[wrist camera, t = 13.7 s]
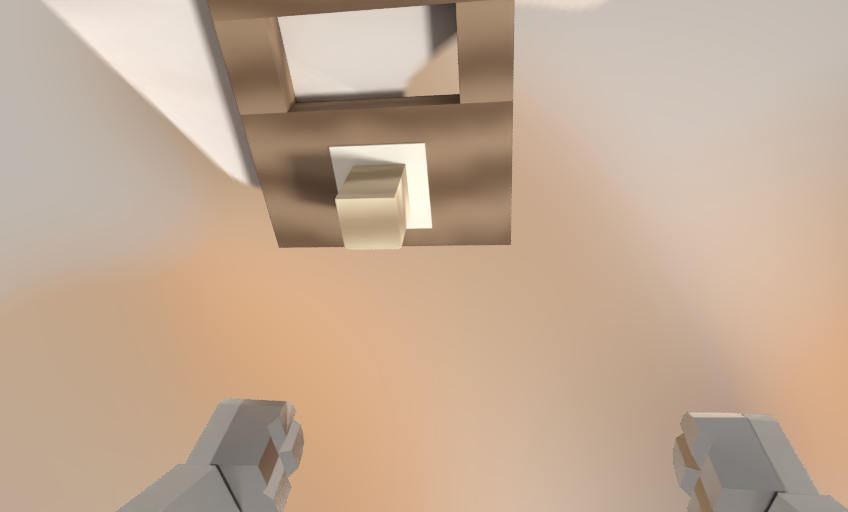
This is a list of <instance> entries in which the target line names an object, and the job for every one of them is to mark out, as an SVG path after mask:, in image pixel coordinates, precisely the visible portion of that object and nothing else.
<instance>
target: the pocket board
mask: <svg viewBox="0 0 848 512" xmlns="http://www.w3.org/2000/svg"><path fill="white" fill-rule="evenodd" d="M207 3H208V7H209V10H210V13H211V17H212V20H213V24H214V27H215V31H216V34H217V37H218V41H219V44H220V48H221V51H222V54H223V58H224V61H225V65H226V68H227V72H228V75H229V78H230V82H231V85H232V89H233V92H234V95H235V99H236V102H237V106H238V109H239V113H240V116H241V119H242V123H243V126H244V130H245V133H246V136H247V140H248V143H249V147H250V150H251V154H252V157H253V160H254V164H255V167H256V171H257V174H258V177H259V181H260V184H261V188H262V191H263V194H264V198H265V201H266V205H267V208H268V212H269V215H270V218H271V222H272V225H273V229H274V232H275V236H276V239H277V242H278V246H279V248H289V247H345V246H344V241H343V236H342V231H341V226H340V221H339V216H338V211H337V207H336V202H335V198H336V196H337V195H338V193H339V191H340V189H341V187H342V185H343V183H344V182H345V180H346V178H347V176H348V174H349V172H350V170H351V168H352V167H353V166H364V165H395V164H406V174H407V183H408V192H409V201H410V210H411V212H410V216H409V220H408V224H407V227H406V231H405V235H404V239H403V243H402V246H450V245H510V244H511V194H512V188H511V187H512V129H513V64H514V62H513V60H514V0H207ZM448 3H456V18H457V41H458V64H459V87H460V94H454V95H434V96H416V97H397V98H378V99H359V100H341V101H322V102H303V103H296V98H295V94H294V89H293V85H292V81H291V76H290V72H289V67H288V63H287V58H286V54H285V50H284V45H283V41H282V36H281V32H280V27H279V23H278V19H277V17H281V16H294V15H307V14H320V13H332V12H345V11H358V10H371V9H384V8H397V7H409V6H422V5H435V4H448Z"/></svg>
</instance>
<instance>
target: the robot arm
mask: <svg viewBox="0 0 848 512" xmlns="http://www.w3.org/2000/svg"><path fill="white" fill-rule="evenodd" d="M295 413H296V411H295V408H294V405H293V403H292V402H284V401H267V400H250V399H226V398H225V399H224V400H223V401H221V402H220V403H219V404H218V406H217V408H216V410H215V411H214V413H213V415H212V416H211V418H210V420H209V422H208V424H207V426H206V427H205V429H204V431H203V433H202V434H201V437H200V438H199V440H198V442H197V443H196V445H195V447H194V449H193V451H192V452H191V454H190V456H189V458H188V460H187V461H186V463H185V464H178V465H176V466H175V467H174V468H173V469H171V470H170V471H169V472H167V473H166V474H165V475H163V476H162V477H161V478H159V479H158V480H157V481H156V482H154V483H153V484H152V485H150V486H149V487H148V488H147V489H145V490H144V491H143V492H141V493H140V494H139V495H137V496H136V497H135V498H133V499H132V500H131V501H130V502H128V503H127V504H126V505H124V506H123V507H122V508H120V509H119V510H118V511H116V512H283V510H284V507H285V505H286V501H287V499H288V496H289V493H290V490H291V484H290V482H289V479H288V477H289V476H290V475H291V474H292V473H293V472H294V471H295V470H297V469H298V467H299V464H300V461H301V457H302V453H303V445H304V438H303V431H302V428H301V425H300V424H299V423H298V422H296V421H295V420H294V416H295ZM680 425H681V427H682V430H683V434H682V435H680V436H679V437H677V438H676V440H675V444H674V448H673V464H674V469H675V474H676V477H677V480H678V483H679V486H680V487H681V488H682V489H683V490H684V491H685V492H686V493H687V494H688V495H689V496H690V497H691V499H690V502H689V504H688V507H687V510H688V512H848V509H847V508H845V507H844V506H843V505H841V504H840V503H839V502H838V501H836V500H835V499H834V498H832V497H831V496H829V495H820V493H819V492H818V490H817V488H816V486H815V485H814V483H813V481H812V480H811V478H810V476H809V474H808V473H807V471H806V469H805V468H804V466H803V464H802V462H801V461H800V459H799V457H798V456H797V454H796V452H795V450H794V449H793V447H792V445H791V444H790V442H789V440H788V439H787V437H786V435H785V434H784V432H783V430H782V428H781V426H780V425H779V423H778V421H777V420H776V419H775V418H774V417H773V416H772V415H768V414H739V413H703V412H701V413H700V412H687V413H686V414H684V415H683V418H682V420H681V423H680Z"/></svg>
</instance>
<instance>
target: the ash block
mask: <svg viewBox="0 0 848 512" xmlns="http://www.w3.org/2000/svg"><path fill="white" fill-rule="evenodd" d="M335 202H336V207H337V211H338V216H339V221H340V226H341V231H342V236H343V241H344V246H345V249H401V247H402V243H403V239H404V235H405V231H406V227H407V224H408V220H409V216H410V212H411V210H410V201H409V192H408V183H407V174H406V164H395V165H364V166H353V167H352V168H351V170H350V172H349V174H348V176H347V178H346V180H345V182H344V183H343V185H342V187H341V189H340V191H339V193H338V195H337V196H336V198H335Z"/></svg>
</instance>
